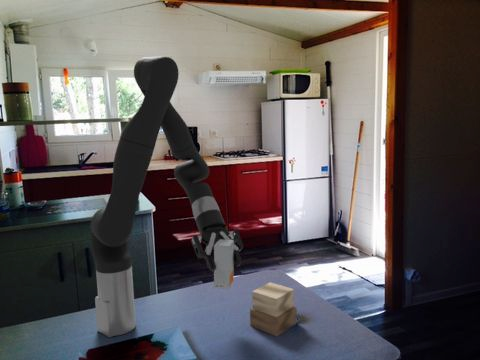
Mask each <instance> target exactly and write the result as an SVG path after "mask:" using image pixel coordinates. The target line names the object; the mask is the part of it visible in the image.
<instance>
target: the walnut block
mask: <svg viewBox="0 0 480 360" xmlns="http://www.w3.org/2000/svg"><path fill="white" fill-rule="evenodd" d="M297 311H298V308H297V306H295V305H294V307H293V308H291V309H289V310H288V311H286V312H285V313H283V314H281V315H280V316H278V317H274V316H271V315H268V314H266V313H263V312H260V311H257V310H254V309H253V307H252V308H249V318H250V320H249V321H250V326H251V327H252V328H256V329H258V330H260V331H262V332H266V333H267V334H269V335H270V334H271V335H273V336H275V337H278V336H280V335H281V334H283V333H284V332H286V331H288V330H289V329H291V328H292V327H294V326H295V325H297V323H298V319H297V317H298V313H297Z"/></svg>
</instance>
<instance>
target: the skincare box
mask: <svg viewBox="0 0 480 360" xmlns="http://www.w3.org/2000/svg"><path fill="white" fill-rule="evenodd" d="M213 259H214V262H215V265H216V269H215V271H213V289H214V290H215V289H217V290H226V291H227V290H230V288H231V286H232V285H233V284H234V276H235V275H234V265H235V262H234V240H233V239H231V240H223V239H220V240H219V241H217V242H216V244H215V245H214V249H213Z"/></svg>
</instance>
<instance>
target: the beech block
mask: <svg viewBox="0 0 480 360" xmlns="http://www.w3.org/2000/svg"><path fill="white" fill-rule="evenodd" d="M251 293H252V294H251V295H252V308H253V309H254V310H257V311H260V312H263V313H266V314H268V315H271V316H274V317H278V316H280V315H281V314H283V313H285V312H286V311H288V310H289V309H291V308H293V307H294V306H295V289H294V288H291V287H288V286H284V285H280V284H278V283H274V282H271V281H270V282H268V283H266V284H264V285H262V286H260V287H258V288H257V289H253V290H252V291H251Z"/></svg>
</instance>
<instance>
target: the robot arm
mask: <svg viewBox="0 0 480 360" xmlns="http://www.w3.org/2000/svg"><path fill="white" fill-rule="evenodd" d="M178 67H179V66H178V65H177V63H176V61H175V60H174V59H173V58H171V57H169V56H163V55H162V56H161V55H160V56H159V55H158V56H144V57H141V58H139V59H138V60H137V61H136V63H135V64H134V68H133V76H134V77H133V78H134V80H135V82H136V84H137V86H138V88H139V90H140V91H141V93H142V94H143V96H144V97H143V101H141V102H142V103H141V104H140V106H139V108H138V110H137V111H136V112H135V114H134V115H133V116H132V117H131V118H130V120H129V121H128V123H127V124H126V125H125V127H124V129H123V130H122V132H121V133H120V137H119V140H118V143H117V146H116V150H115V154H114V157H113V158H114V159H113V164H112V165H113V167H112V168H113V169H112V183H111V185H112V186H111V191H110V195H109V198H108V200H107V203H106V206H105V207H102V208H100V209H98V210H97V211H96V212H95V213H94V214H93V215H92V218H91V220H90V237H91V248H92V256H93V261H94V266H95V274H96V275H95V276H96V285H97V286H96V287H97V296H95V298H94V302H95V315H96V316H95V317H96V328H97V329H96V330H97V331H98V332H100V333H101V334H103V335H104V336H106V337H108V338H112V337H114V336H121V335H125V334H127V333H130V332H131V331H133V330H134V329H135V328H136V324H137V323H136V310H135V293H134V281H133V278H134V277H133V265H132V264H133V263H132V256H131V253H130V250H129V248H128V240H129V238H130V236H131V234H132V231H133V229H134V222H135V217H136V212H137V206H138V202H139V197H140V195H141V191H142V188H143V185H144V183H145V181H146V180H145V179H146V177H147V173H148V169H149V166H150V164H151V160H152V157H153V154H154V150H155V147H156V143H157V139H158V136H159V134H160V130H161V129H162V131H163V134H164V136H165V139H166V140H167V144H168V146H169V149H170V151H171V154H172V156H173V157H174V158H175V159H178V160H184V159H190V160H187V161H184V162H181V163H179V164H178V163H177V165H176V166H175V167H174V170H173V173H174V175H173V176H174V177H175V180H176V181H177V183H178V184H179V185H180V186H181V187H182V189H184V192H185V193H186V195H187V198H188V200H189V203H190V206H191V209H192V215H193V218H194V220H195V223H196V226H197V229H198V231H199V234H200V235H197V234H194V235H193V237H192V238H191V240H190V241H191V244H192V247H193V249H194V252H195V255H196V257H197V259H204V260H205V262H206V265H207V268H208V270H210V272H214V271H215V269H216V265H215V262H214V256H213V255H211V254H212V250H214V245H215V244H216V242H217V241H219V240H220V239H223V240H234V265H235V266H236V267H238V268H239V267H240V266H241V264H242V262H243V261H242V259H243V258H242V257H241V255H240V252H241V251H242V249H243V248H244V243H243V240H242V237H241V235H240V232H239V229H237V228H236V229H234V230H232V231H229V230H228V229H227V227H226V222H225V220H224V218H223V215H222V213H221V211H220V207H219V205H218V203H217V201H216V199H215V197H214V196H215V195H214V194H213V191H212V189H211V186H210V185H209V184H208V183H207V182H204V181H203V180H206V179H207V178H209V176H210V168H209V165H208V163H207V162H206V160H205V159H204V158H203V157H202V155H201V154H200V153H199V151H198V149H197V147H196V145H195V142H194V140H193V137H192V134H191V132H190V129H189V127H188V124H186V122H185V120H184V119H183V118H182V116H181V115H180V114H179V112H178V111H177V110H176V108H175V107H174V106H173V104H172V102H171V100H172V97H173V95H174V93H175V90H176V87H177V85H178V80H179V75H180V74H179V68H178ZM202 181H203V182H202ZM202 243H204V245H206V246H205V250H204V249H203V246H202Z"/></svg>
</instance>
